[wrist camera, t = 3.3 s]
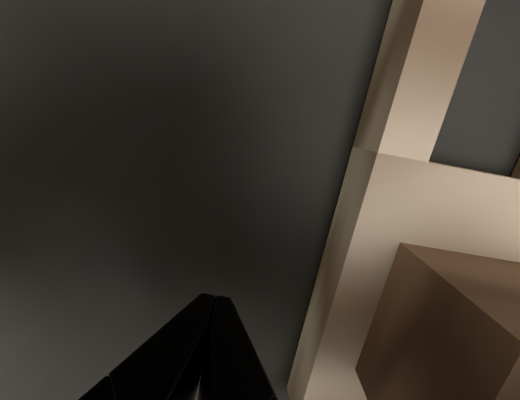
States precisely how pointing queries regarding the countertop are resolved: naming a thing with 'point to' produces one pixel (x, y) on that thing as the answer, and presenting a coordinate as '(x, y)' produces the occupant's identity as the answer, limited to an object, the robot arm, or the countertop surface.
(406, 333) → the walnut block
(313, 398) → the trap board
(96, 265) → the countertop surface
